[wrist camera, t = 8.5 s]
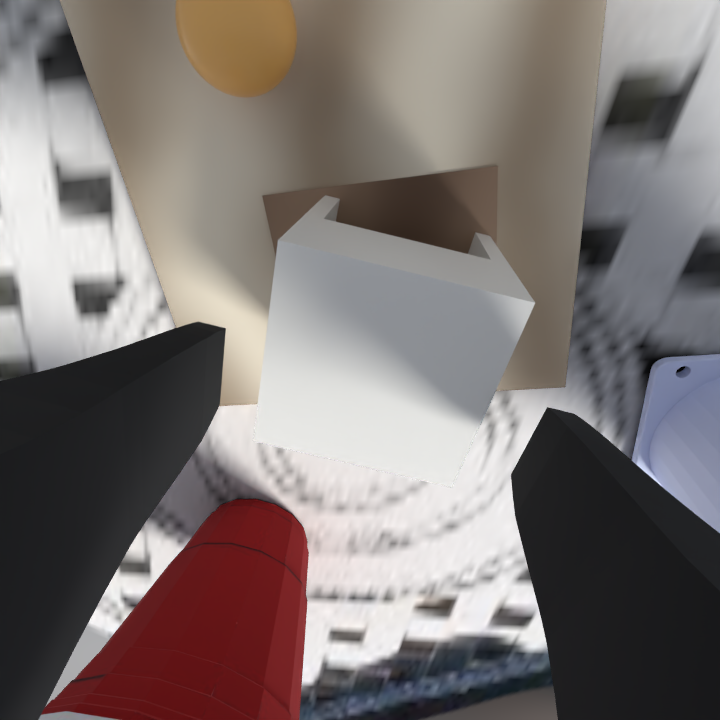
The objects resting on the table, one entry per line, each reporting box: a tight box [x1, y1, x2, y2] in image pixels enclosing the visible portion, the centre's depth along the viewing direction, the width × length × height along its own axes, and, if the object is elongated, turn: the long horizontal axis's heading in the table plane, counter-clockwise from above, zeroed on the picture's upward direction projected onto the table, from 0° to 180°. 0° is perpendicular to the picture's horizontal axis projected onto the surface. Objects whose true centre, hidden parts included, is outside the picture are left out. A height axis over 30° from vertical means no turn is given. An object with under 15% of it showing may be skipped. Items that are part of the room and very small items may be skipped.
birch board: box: [60, 0, 606, 406], centre depth 15 cm, size 15×17×1 cm
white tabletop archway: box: [253, 195, 535, 488], centre depth 13 cm, size 6×6×6 cm
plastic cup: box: [39, 499, 309, 720], centre depth 20 cm, size 11×11×12 cm
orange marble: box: [175, 0, 297, 98], centre depth 11 cm, size 3×3×3 cm
